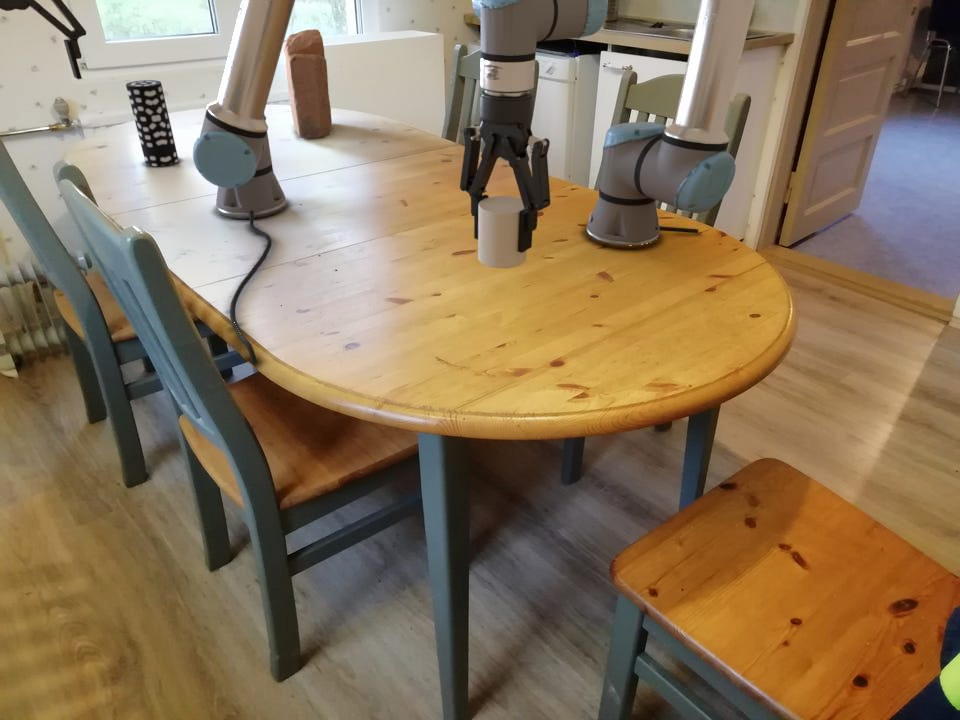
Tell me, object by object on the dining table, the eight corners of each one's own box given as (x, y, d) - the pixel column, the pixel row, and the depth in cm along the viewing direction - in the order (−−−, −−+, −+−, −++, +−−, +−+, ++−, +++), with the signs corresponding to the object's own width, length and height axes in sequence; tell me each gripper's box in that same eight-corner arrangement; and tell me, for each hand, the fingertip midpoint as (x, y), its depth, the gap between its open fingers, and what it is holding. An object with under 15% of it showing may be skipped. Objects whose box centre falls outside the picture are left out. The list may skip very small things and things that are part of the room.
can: (526, 269, 107) (529, 214, 102) (476, 267, 107) (477, 212, 102) (525, 249, 113) (528, 196, 108) (479, 247, 114) (479, 195, 109)
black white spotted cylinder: (184, 157, 190) (167, 80, 179) (169, 166, 183) (151, 87, 172) (155, 156, 190) (136, 79, 179) (139, 165, 183) (119, 86, 172)
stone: (337, 137, 208) (326, 34, 194) (299, 140, 205) (285, 36, 191) (327, 123, 225) (317, 28, 211) (292, 125, 222) (279, 29, 208)
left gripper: (-94, -50, 107) (-40, 94, 118) (81, -52, 120) (115, 77, 131) (-98, -52, 111) (-45, 86, 123) (71, -54, 125) (104, 71, 136)
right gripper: (433, 85, 99) (437, 234, 111) (555, 106, 89) (545, 267, 101) (465, 77, 104) (465, 220, 116) (584, 96, 94) (571, 251, 106)
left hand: (38, 82), depth 127 cm, fingers open, 13 cm apart
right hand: (502, 242), depth 109 cm, fingers closed on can, 8 cm apart
